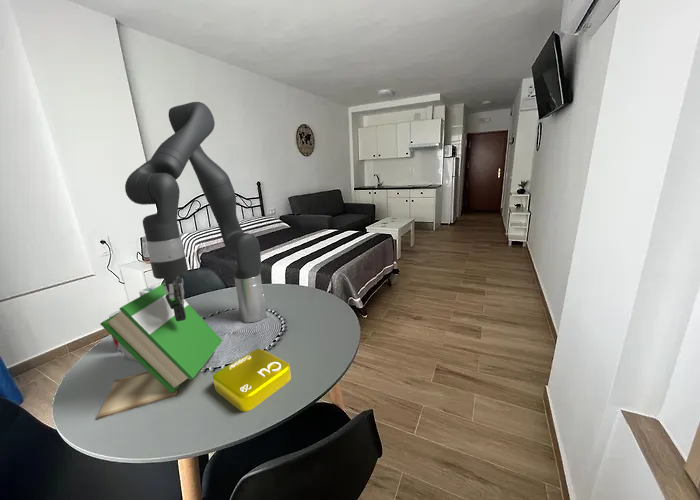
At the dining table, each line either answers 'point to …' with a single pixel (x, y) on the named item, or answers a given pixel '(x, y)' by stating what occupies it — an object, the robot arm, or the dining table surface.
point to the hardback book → (163, 338)
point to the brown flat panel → (133, 394)
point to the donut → (126, 352)
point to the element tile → (251, 379)
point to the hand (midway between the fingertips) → (181, 319)
